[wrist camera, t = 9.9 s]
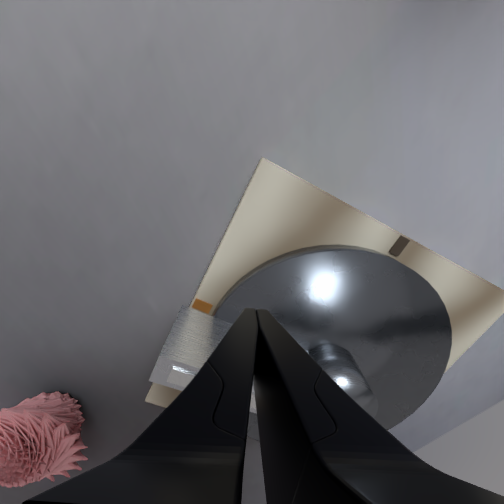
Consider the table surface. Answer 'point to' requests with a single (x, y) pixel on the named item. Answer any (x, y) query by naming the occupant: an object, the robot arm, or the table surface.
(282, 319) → the dial
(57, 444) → the flower
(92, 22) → the table surface
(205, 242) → the table surface
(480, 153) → the table surface
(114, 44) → the table surface
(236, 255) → the dial board
